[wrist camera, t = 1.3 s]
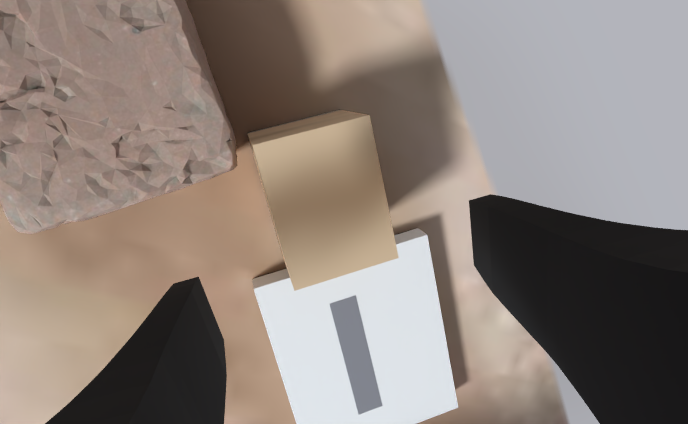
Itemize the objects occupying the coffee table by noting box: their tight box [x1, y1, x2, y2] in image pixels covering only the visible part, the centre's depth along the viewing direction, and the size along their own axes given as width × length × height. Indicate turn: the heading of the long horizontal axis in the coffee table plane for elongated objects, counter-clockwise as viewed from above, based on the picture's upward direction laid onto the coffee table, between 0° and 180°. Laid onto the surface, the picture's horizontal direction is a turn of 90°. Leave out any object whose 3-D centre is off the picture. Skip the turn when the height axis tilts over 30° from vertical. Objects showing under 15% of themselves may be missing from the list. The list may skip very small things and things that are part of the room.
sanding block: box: [247, 110, 399, 291], centre depth 20 cm, size 6×4×5 cm
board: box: [252, 228, 458, 424], centre depth 25 cm, size 11×9×1 cm
